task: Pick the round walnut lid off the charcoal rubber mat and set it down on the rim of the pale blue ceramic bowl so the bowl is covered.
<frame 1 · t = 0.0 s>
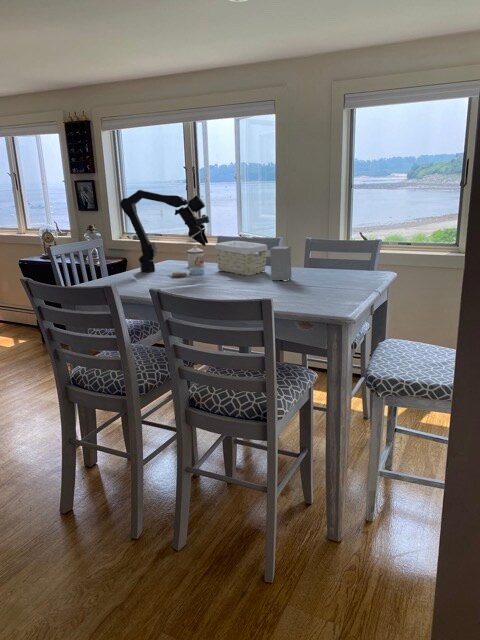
hand: (206, 244, 238), 15 cm above the table, tool tilted 35°, fingers open, 9 cm apart
storage basket: (241, 272, 246), on the table
lid: (179, 276, 231), point 1 cm above the table, touching mat
teacup with lid: (197, 267, 261), on the table
bowl: (196, 275, 238), on the table
skincare box: (280, 280, 223), on the table
mat: (179, 278, 231), on the table
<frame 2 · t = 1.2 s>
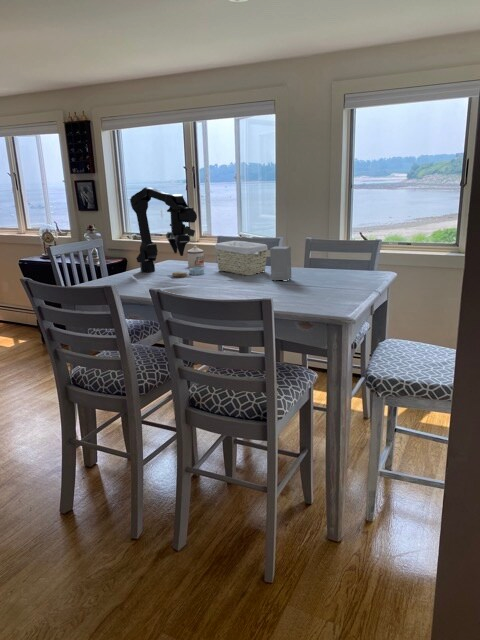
hand: (178, 254, 228), 12 cm above the table, tool pointing down, fingers open, 9 cm apart
nothing on the table moved.
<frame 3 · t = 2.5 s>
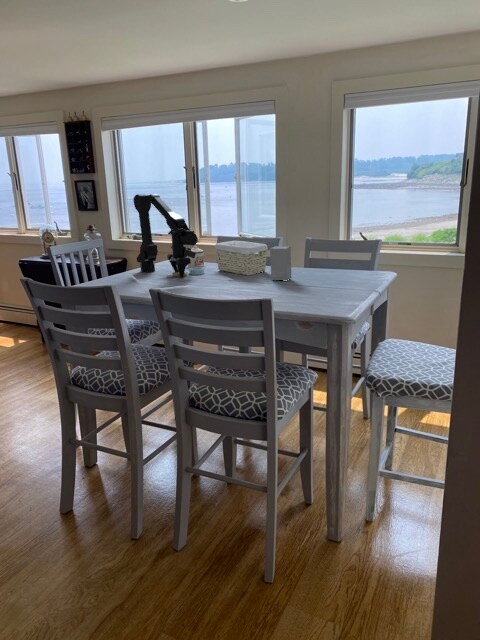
hand: (179, 276, 231), 1 cm above the table, tool pointing down, fingers closed on lid, 7 cm apart
lid: (179, 276, 231), point 1 cm above the table, touching gripper, mat
everything else where it was.
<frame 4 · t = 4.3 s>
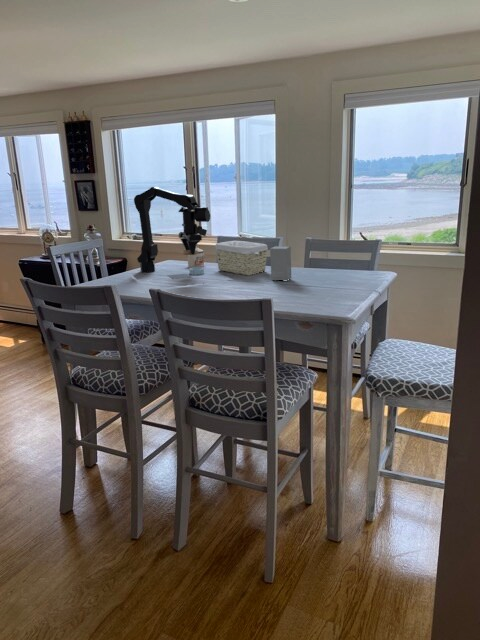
hand: (190, 253, 232), 11 cm above the table, tool pointing down, fingers closed on lid, 7 cm apart
lid: (190, 253, 232), point 11 cm above the table, touching gripper
everything else where it was.
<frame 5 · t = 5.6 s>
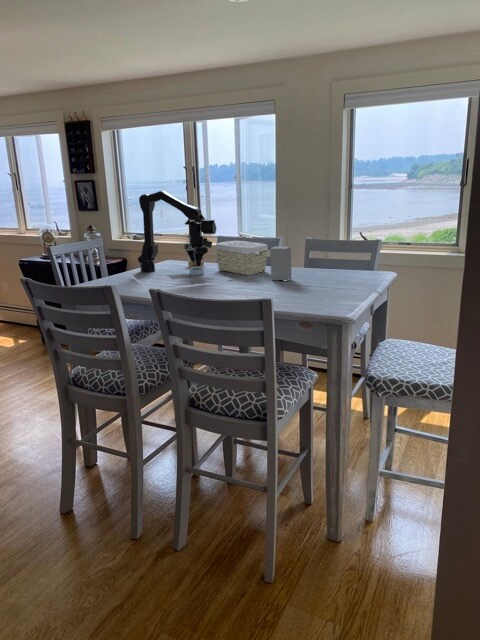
hand: (196, 265, 236), 5 cm above the table, tool pointing down, fingers closed on lid, 7 cm apart
lid: (196, 265, 236), point 5 cm above the table, touching gripper
everything else where it was.
when the fingers open (4 cm above the table, at t = 6.3 s): lid drops 1 cm, resting on bowl.
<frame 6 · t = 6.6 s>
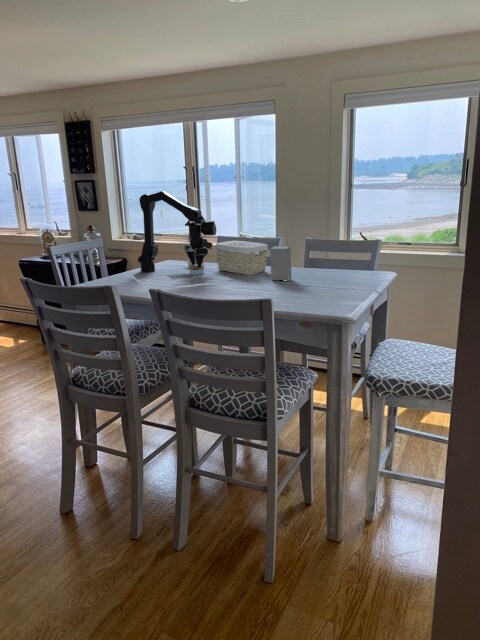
hand: (196, 266, 237), 4 cm above the table, tool pointing down, fingers open, 9 cm apart
lid: (196, 268, 237), point 3 cm above the table, touching bowl
bowl: (196, 275, 238), on the table, touching lid
everything else where it was.
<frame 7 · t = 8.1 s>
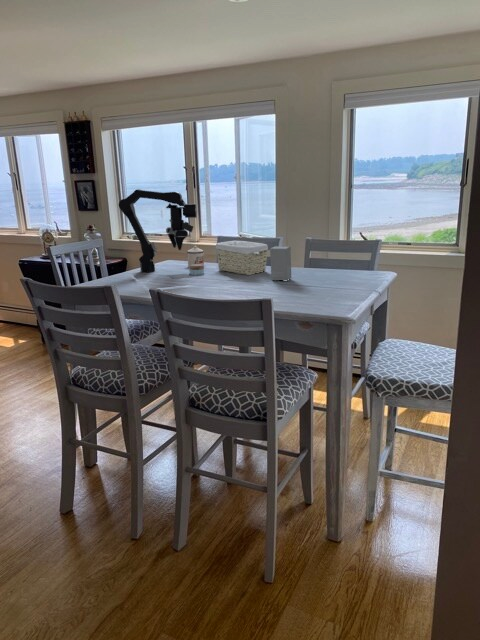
hand: (177, 248, 240), 13 cm above the table, tool pointing down, fingers open, 9 cm apart
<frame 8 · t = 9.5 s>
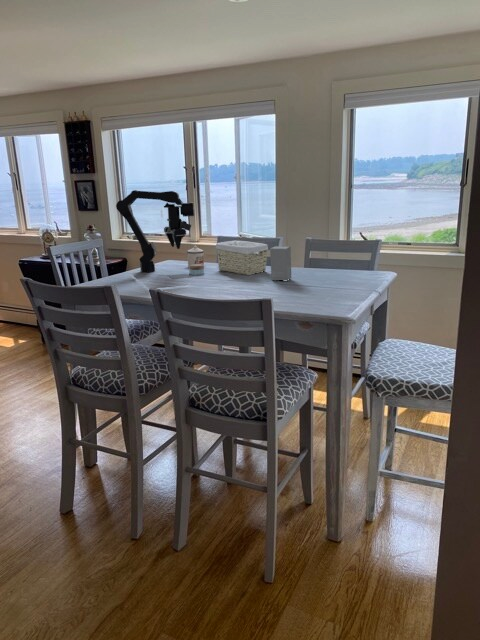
hand: (175, 247, 241), 13 cm above the table, tool pointing down, fingers open, 9 cm apart
lid: (196, 268, 237), point 3 cm above the table
bowl: (196, 275, 238), on the table
at the end: lid 0.2 cm off-centre on the bowl, point 3.5 cm above the bowl's base; the gripper is holding nothing; bowl tilted 0° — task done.
